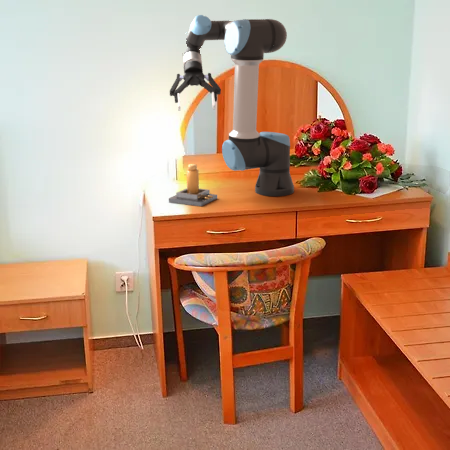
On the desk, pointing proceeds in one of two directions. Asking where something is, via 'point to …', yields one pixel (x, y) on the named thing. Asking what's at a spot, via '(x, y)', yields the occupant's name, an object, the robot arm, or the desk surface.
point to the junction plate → (193, 197)
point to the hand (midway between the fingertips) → (196, 108)
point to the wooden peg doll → (192, 179)
